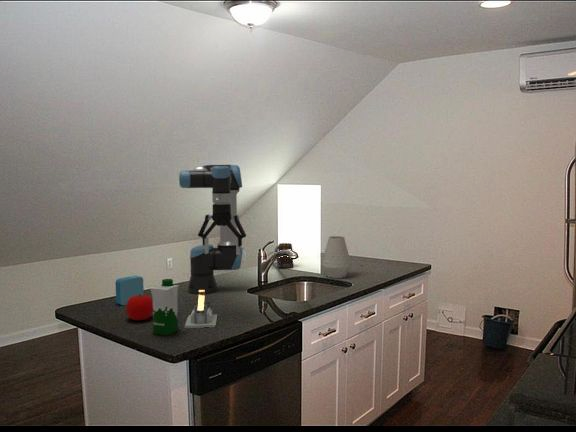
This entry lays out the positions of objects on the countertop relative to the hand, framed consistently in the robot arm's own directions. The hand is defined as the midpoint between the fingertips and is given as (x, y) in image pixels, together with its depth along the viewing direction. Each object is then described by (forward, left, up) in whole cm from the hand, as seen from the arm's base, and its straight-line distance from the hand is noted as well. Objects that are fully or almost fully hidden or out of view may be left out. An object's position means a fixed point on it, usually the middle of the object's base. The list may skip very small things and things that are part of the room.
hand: (222, 253), depth 206 cm
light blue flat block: (-26, -45, -27) cm, 58 cm away
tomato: (0, -35, -27) cm, 44 cm away
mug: (-99, +33, -27) cm, 108 cm away
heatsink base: (+7, -9, -27) cm, 29 cm away
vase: (-72, +62, -27) cm, 99 cm away
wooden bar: (+7, -8, -19) cm, 22 cm away
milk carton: (+18, -21, -27) cm, 39 cm away
